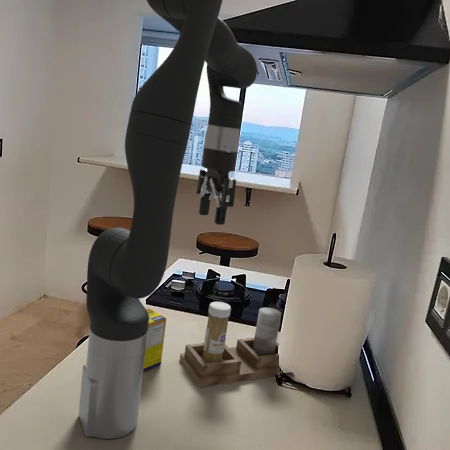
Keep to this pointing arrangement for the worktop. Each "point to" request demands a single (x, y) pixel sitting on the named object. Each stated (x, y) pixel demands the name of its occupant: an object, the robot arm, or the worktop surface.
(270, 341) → the rack
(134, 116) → the robot arm
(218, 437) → the worktop surface
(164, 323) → the supplement box
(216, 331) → the sprinkles bottle
